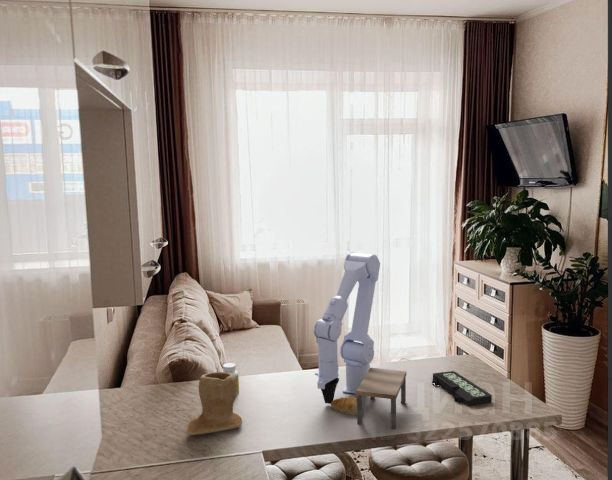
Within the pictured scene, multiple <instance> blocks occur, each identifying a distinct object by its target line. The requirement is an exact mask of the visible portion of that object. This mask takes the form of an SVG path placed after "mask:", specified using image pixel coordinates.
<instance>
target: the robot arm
mask: <svg viewBox="0 0 612 480" xmlns="http://www.w3.org/2000/svg"><path fill="white" fill-rule="evenodd" d="M380 267H381V262H380V260H379V258H378V255H376V254H373V253H371V254H369V253H357V252H349V253H348V254H347V255H346V256H345V258H344V263H343V269H344V273H343V276H342V279H341V281H340V284H339V287H338V290H337V292H336V295H335V296H333V297H331V298H330V300H329V302H328V304H327V306H326V309H325V311H324V313H323V315H322V317H321V318H320V319H319V320H317V321H316V322H315V324H314V328H313V330H312V331H313V335H314V337H315V339H316V343H317V350H318V351H317V353H318V355H317V357H318V370H316V371H315V372H314V376H317V378H318V380H317V389H320V390H321V393H322V397H323V401H324V403H325V404H330V405H331V402H333V401H334V400H335V399H334V398H335V393H336V389H337V387H338V386H337V385H338V383H339V382H340V378H339V375H340V374H339V364H338V363H339V361H338V339H339V338H340V336H341V334H342V328H343V327H342V326H343V322H342V321H343V319H344V317H345V314H346V312H347V310H348V308H349V303H348V299H349V297H350V295H351V293H352V291H353V290H354V288H355V286H356V285H357V282H358V288H357V295H356V300H355V301H356V302H355V307H354V312H353V319H352V324H351V330H350V332H348V333H346V334H345V335H343V340H342V343H341V345H340V348H339V354H340V356H341V358H342V359H343V363H345V380H346V381H345V382H346V383H345V384H346V385H345V386H344V388H343V389H342V393H346V394H355V395H356V390H357V388H358V387H359V385H360V384H361V382H362V380H363V379H364V377H365V376H366V374H367V372H368V371H369V369H370V368H371V365H370V364H371V363H372V361H373V359H374V356H375V350H374V349H375V347H374V344H375V342H374V340H373V338H371V336H370V335H369V326H370V319H371V314H372V308H373V300H374V295H375V288H376V282H377V281H379V274H380V269H381V268H380Z"/></svg>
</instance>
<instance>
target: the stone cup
mask: <svg viewBox="0 0 612 480" xmlns="http://www.w3.org/2000/svg"><path fill="white" fill-rule="evenodd" d="M236 388H237V386H236V378H235V376H234V375H233V374H231V373H226V372H223V371H215V372H208V373H205V374H202V375H201V376H200V378H199V382H198V393H199V398H200V399H199V400H200V403H201V409H202V412H201V414H200V415H198V416H194V417H192V418H191V419H189V421H188V424H187V435H188V436H197V435H198V436H199V435H205V434H206V435H207V434H211V433H212V434H213V433H218V432H222V431H228V430H234V429H237V428H239V427H242V425H243V420H242V417H241V415H239V414H237V412H236V413H235V412H234V410H233V409H234V405H235V404H234V403H235V400H236V397H237V396H236Z"/></svg>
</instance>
